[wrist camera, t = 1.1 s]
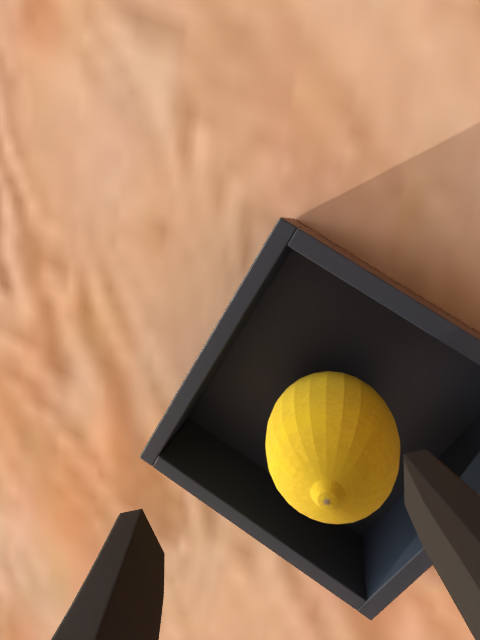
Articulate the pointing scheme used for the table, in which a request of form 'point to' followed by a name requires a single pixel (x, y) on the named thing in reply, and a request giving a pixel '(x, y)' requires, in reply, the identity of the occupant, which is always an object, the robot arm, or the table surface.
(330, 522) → the lemon
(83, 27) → the table surface
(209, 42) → the table surface
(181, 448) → the bin
